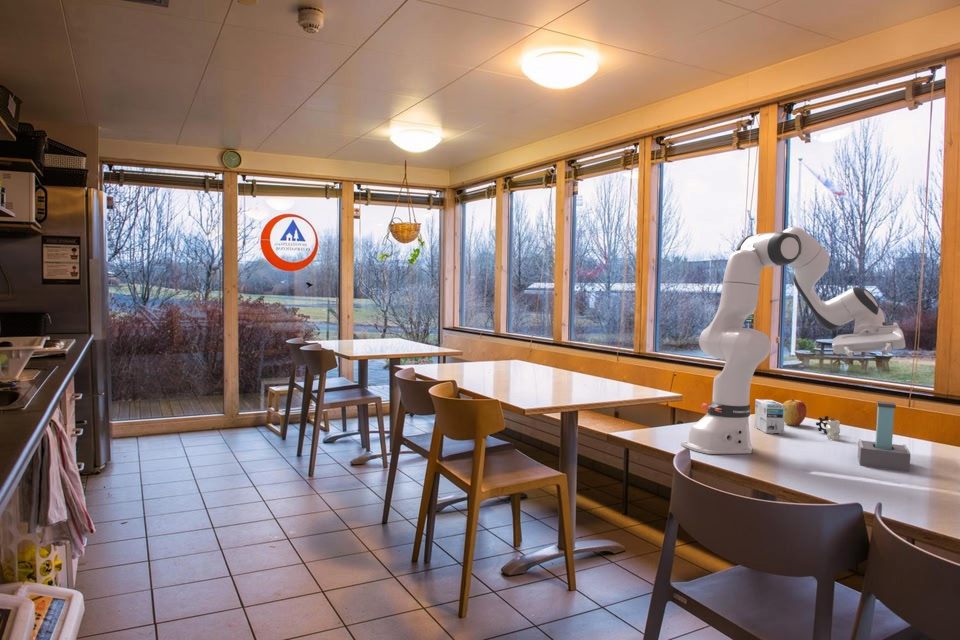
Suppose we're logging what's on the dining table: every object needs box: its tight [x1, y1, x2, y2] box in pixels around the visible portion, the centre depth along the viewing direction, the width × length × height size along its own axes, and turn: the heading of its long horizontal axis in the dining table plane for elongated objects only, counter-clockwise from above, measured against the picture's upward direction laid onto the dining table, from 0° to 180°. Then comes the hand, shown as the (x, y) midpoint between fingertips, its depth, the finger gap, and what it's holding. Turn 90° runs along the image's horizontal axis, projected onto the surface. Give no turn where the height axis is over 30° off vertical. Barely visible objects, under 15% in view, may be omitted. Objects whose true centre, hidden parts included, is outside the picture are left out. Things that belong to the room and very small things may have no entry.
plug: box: [875, 400, 897, 450], centre depth 188 cm, size 4×4×18 cm
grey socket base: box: [857, 438, 911, 473], centre depth 188 cm, size 12×12×6 cm
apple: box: [782, 398, 807, 426], centre depth 247 cm, size 9×9×10 cm
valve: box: [815, 415, 841, 441], centre depth 228 cm, size 7×7×12 cm
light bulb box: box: [754, 398, 785, 435], centre depth 234 cm, size 11×7×11 cm, turn 179°
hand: (867, 354), depth 202 cm, fingers open, 8 cm apart
